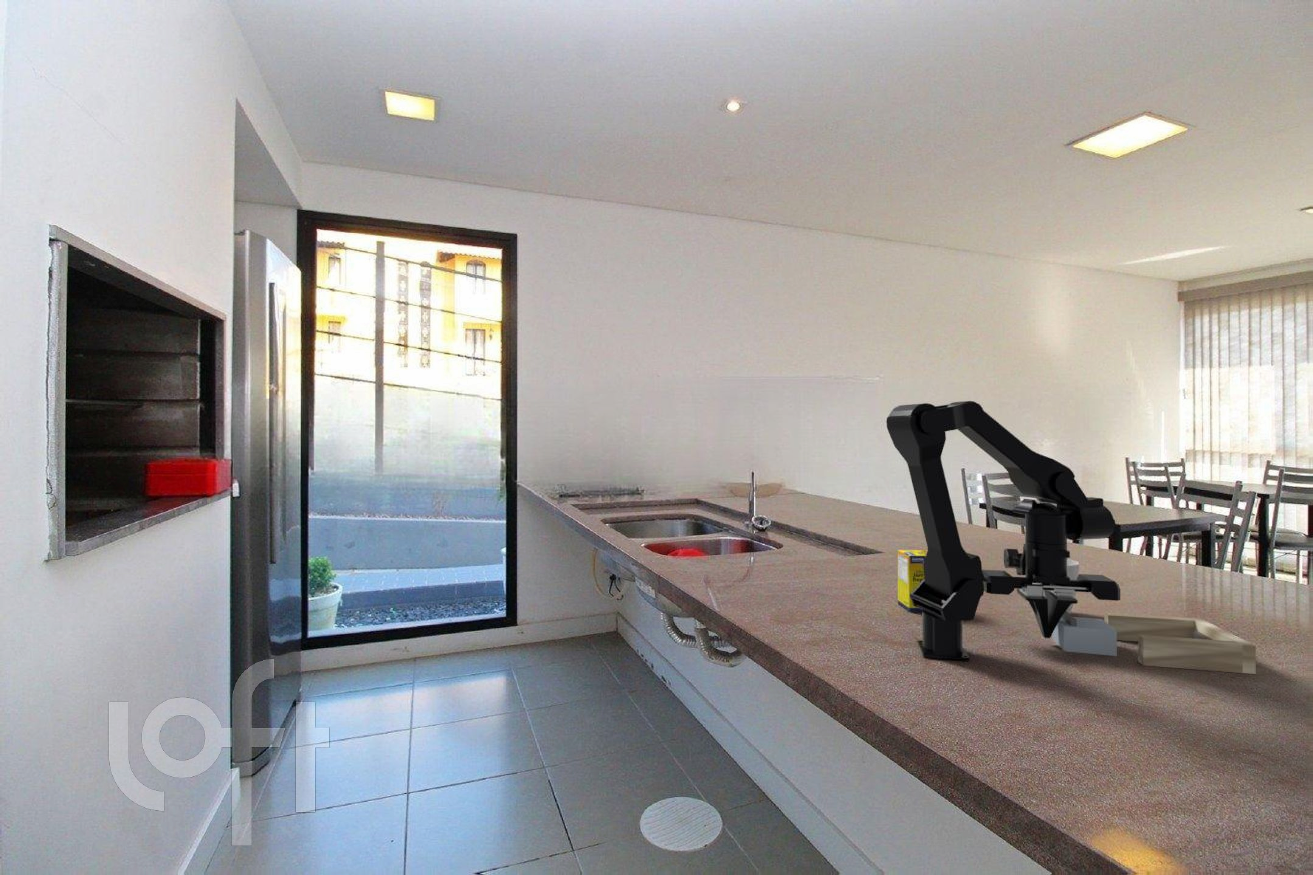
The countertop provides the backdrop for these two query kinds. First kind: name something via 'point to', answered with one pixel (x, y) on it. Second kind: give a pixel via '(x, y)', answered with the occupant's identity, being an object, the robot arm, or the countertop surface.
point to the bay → (1184, 643)
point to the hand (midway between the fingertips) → (1046, 637)
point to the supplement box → (909, 576)
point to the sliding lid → (1085, 635)
